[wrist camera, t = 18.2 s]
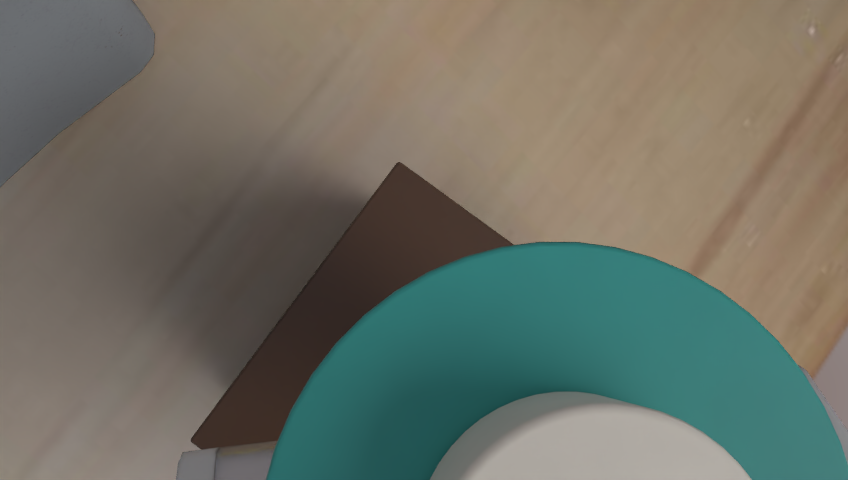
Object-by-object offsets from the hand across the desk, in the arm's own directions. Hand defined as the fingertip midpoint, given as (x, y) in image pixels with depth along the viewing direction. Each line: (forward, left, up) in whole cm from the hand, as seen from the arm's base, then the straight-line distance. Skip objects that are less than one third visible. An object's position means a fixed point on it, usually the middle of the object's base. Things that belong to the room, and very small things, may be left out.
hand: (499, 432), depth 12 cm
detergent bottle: (-1, 0, -6) cm, 6 cm away
